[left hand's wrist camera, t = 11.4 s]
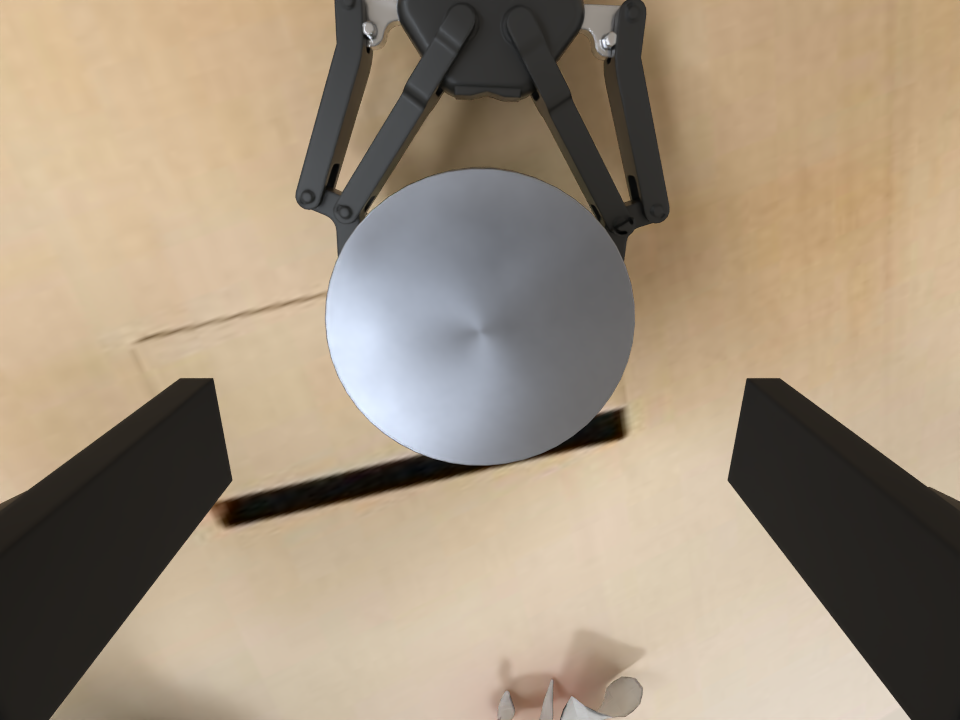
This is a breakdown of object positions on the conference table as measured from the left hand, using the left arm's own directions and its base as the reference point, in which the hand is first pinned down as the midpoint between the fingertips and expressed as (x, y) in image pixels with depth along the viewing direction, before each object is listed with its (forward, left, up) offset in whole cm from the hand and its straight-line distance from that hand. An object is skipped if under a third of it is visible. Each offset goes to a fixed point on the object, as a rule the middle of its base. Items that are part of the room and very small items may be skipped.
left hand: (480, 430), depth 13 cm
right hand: (-4, -1, -17) cm, 18 cm away
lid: (0, 0, -8) cm, 8 cm away
